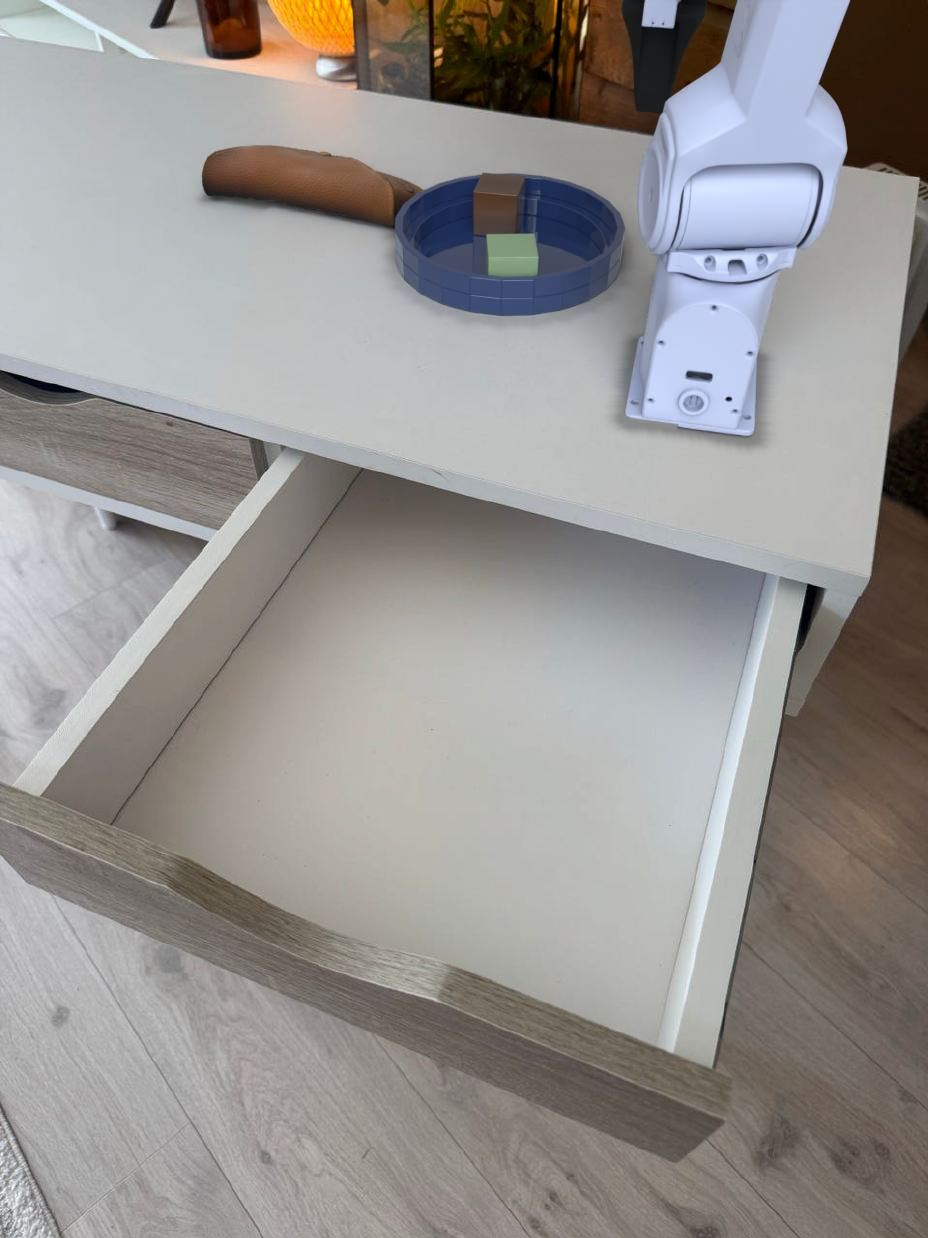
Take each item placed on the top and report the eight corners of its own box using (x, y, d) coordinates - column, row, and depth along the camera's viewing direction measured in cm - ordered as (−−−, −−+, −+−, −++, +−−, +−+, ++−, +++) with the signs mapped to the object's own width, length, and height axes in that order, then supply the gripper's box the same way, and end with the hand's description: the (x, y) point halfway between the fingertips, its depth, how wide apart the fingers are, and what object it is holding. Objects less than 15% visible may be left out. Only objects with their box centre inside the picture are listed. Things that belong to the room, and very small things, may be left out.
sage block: (487, 303, 68) (488, 257, 65) (485, 279, 70) (486, 233, 67) (535, 302, 68) (538, 256, 65) (532, 278, 70) (534, 232, 67)
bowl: (604, 334, 66) (609, 292, 63) (370, 306, 68) (366, 264, 66) (630, 223, 77) (635, 184, 75) (428, 202, 79) (426, 163, 77)
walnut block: (515, 239, 74) (517, 195, 71) (472, 235, 75) (473, 190, 72) (523, 219, 76) (525, 175, 74) (481, 215, 77) (482, 171, 74)
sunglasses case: (437, 189, 80) (418, 133, 74) (410, 261, 79) (390, 211, 72) (252, 157, 84) (219, 102, 78) (225, 226, 83) (190, 176, 77)
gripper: (631, -150, 64) (608, 70, 74) (605, -101, 55) (582, 142, 65) (736, -145, 63) (698, 77, 73) (728, -95, 53) (685, 152, 64)
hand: (650, 108), depth 69 cm, fingers closed
